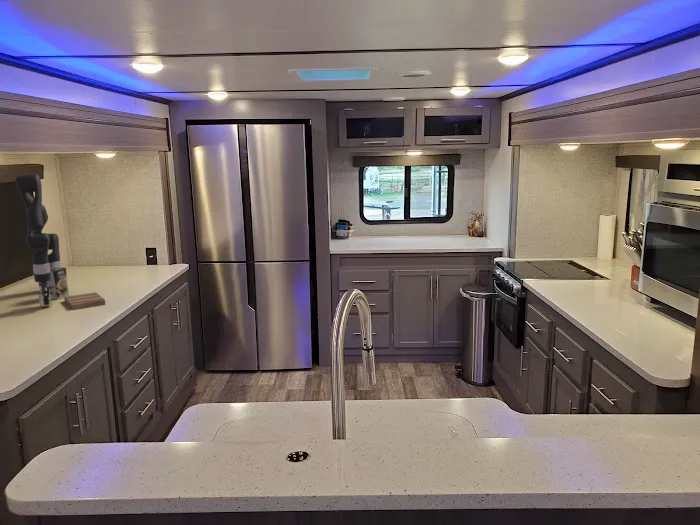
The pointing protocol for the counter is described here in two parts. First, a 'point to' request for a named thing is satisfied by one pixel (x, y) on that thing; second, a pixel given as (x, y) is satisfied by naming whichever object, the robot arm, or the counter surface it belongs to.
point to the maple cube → (43, 300)
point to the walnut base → (84, 300)
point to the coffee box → (58, 283)
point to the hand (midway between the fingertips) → (45, 303)
